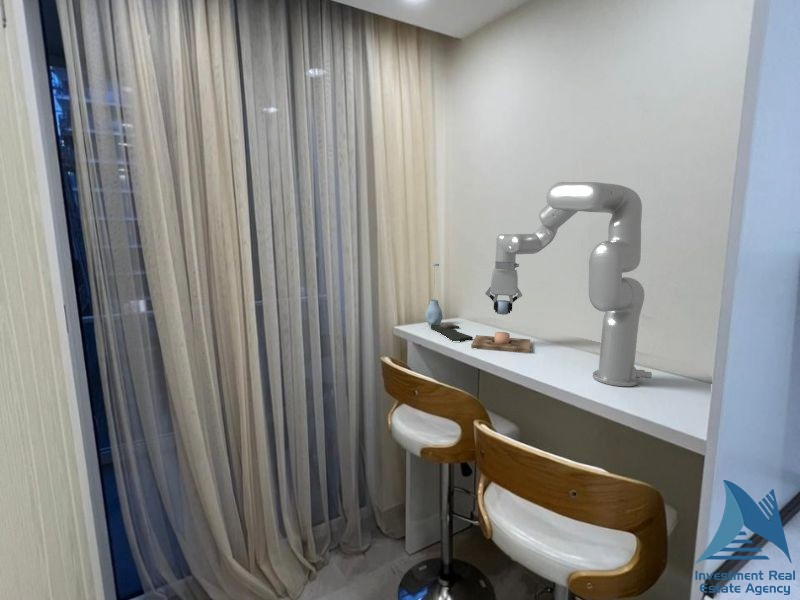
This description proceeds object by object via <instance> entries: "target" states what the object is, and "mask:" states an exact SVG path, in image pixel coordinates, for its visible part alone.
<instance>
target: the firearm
mask: <svg viewBox="0 0 800 600" xmlns="http://www.w3.org/2000/svg"><path fill="white" fill-rule="evenodd" d="M451 328H459V329H460V326H459V325H456V324H452V323H451V324H449V323H447V324H444V325H435V324H432V325H430V329H431V330H433V331H434V330H435V332H436V331H437V333H441V334H442V335H444V336H446V337H447V338H449V339H450V341H451V340H452V341H451V342H453V341H460V342H459V343H462V342H466V341H465V340H469V341H474V339H473V336H472V335H468V334H466V333H463V332H460V331H458V329H451ZM441 334H440V335H441ZM442 335H441V336H442ZM444 336H443V337H444ZM446 337H445V338H446ZM447 338H446V339H447ZM449 339H448V340H449ZM461 341H462V342H461Z"/></svg>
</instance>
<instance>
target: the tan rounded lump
mask: <svg viewBox="0 0 800 600" xmlns="http://www.w3.org/2000/svg"><path fill="white" fill-rule="evenodd" d="M494 337H495V340H494V343H496V344H509V338H511V334H510V333H509V332H506V331H505V332H504V331H496V332H494Z"/></svg>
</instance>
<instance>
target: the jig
mask: <svg viewBox="0 0 800 600" xmlns="http://www.w3.org/2000/svg"><path fill="white" fill-rule="evenodd" d="M494 340H495V336H490V335H479V334H477V335H475V337H474V339H473V340H472V343H471V349H474V348H477V349H476V350H488V351H499V352H510V353H511V352H512V353H522V354H531V339H530V338H519V337H518V338H516V337H510V338H509V344H496V343H494Z"/></svg>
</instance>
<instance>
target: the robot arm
mask: <svg viewBox="0 0 800 600" xmlns="http://www.w3.org/2000/svg"><path fill="white" fill-rule="evenodd" d="M545 199H546V203H547V204H546V205H545V206H544V207H543V208H542V209H541V210H540V211H539V214H538V218H539V221H540V222H541V225H540V227H539V228H538V229H536V230H535V231H534V232H532V233H512V234H511V233H509V234H508V233H503V234H498V235H497V236H496V241H495V242H496V243H495V244H496V247H495V262H494V263H495V265H494V269H493V270H492V274H491V280H490V286H489V287H488V289H487V290H486V291H485V295H486V296H487V297H488V298H489V299H490V300H491V301H492V302H493V311H494V312H495V313H497V304H498V303H497V302H498V297H499V296H508V299H509V300H508V301H509V305H508V314H510V313H511V312H512V311H513V303H514V302H516V301H517V300H518V299H520V298H522V297H523V293H522V292H521V289H519V287H518V286H519V283H518V277H519V276H518V270H517V269H516V268H519V267H520V263H517V262H516V258H517V257H516V256H517V255H534V254H537V253H539V252H540V251H542V250H543V249H545V248H546V247H548V246H549V245H550V244H551V243H552V242H553V241H554V239H555V237H556V236H557V234H558V229H559V228H561V226H563V225H564V224H565V223H567V221H569V220H570V219H571V218H572V217H574V215H576V214H577V213H578V212H587V213H588V212H589V213H601V214H602V213H608V214H611V218H610V220H609V223H608V227H607V228H608V229H607V232H608V234H607V235H608V236H607V240H605V241H602V242H599V243H598V244H596V245H595V246H594V247H593V249H592V250H591V252H590V255H589V260H588V297H589V298H588V299H589V301H590V304H591V305H592V307H593V308H595V309H596V310H597V311H599V312H603V313H604V316H603V319H602V320H603V321H602V328H601V336H600V337H601V339H600V349H599V360H598V363H599V364H598V369H597V370H594V371H593V372H592V377H593V379H594V380H595V381H598V382H600V383H602V384H607V385H610V386H616V387H634V386H638V385H639V382H640V381H639V380H640V378H644V379H652V377H653V373H652V371H645V369H637V368H636V367H635V362H636V352H637V342H638V340H637V339H638V332H639V324H640V317H641V312H642V308H643V306H644V302H645V290H644V287H643V285H642V284H641V283H640V282H639V281H638V280H637V279H635V278H632V277H629V276H628V277H624V276H623V274H624V273H629V272H633V271H635V270H636V269H637V268H638V267H639V266H640V263H641V254H642V251H641V250H642V216H643V213H642V212H643V205H642V201H641V198H640V196H639V194H638V193H637V192H636V191H635V190H634V189H632V188H630V187H628V186H624V185H621V184H615V183H605V182H595V181H558V182H556V183H555V184H553V185H552V186H550V188H549V189H548V191H547V193H546V198H545Z"/></svg>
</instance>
